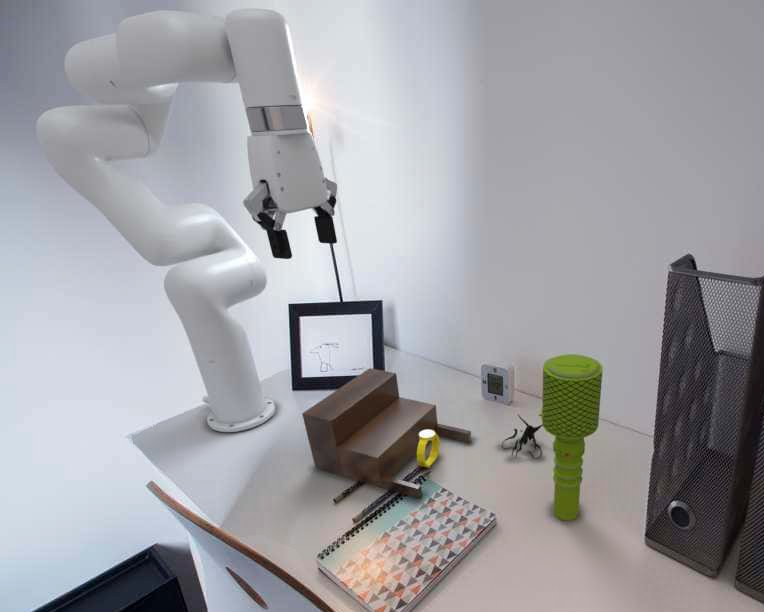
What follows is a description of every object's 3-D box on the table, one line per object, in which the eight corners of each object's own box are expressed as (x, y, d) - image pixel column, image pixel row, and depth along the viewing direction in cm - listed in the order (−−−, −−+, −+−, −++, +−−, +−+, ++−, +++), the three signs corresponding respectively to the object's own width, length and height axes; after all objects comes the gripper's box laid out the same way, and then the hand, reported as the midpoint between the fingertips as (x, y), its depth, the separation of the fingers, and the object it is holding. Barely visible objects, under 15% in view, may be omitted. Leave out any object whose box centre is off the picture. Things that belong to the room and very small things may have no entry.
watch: (429, 474, 89) (425, 444, 86) (414, 471, 90) (410, 442, 87) (444, 454, 94) (441, 426, 91) (430, 451, 94) (426, 423, 92)
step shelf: (315, 468, 91) (301, 413, 86) (377, 417, 105) (369, 368, 100) (419, 499, 83) (411, 441, 78) (471, 440, 97) (468, 387, 92)
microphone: (589, 496, 83) (599, 349, 70) (593, 530, 76) (606, 375, 64) (537, 495, 83) (539, 349, 71) (537, 529, 77) (539, 375, 64)
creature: (534, 470, 91) (554, 439, 96) (531, 448, 87) (552, 418, 92) (495, 457, 94) (516, 428, 99) (491, 436, 91) (513, 407, 96)
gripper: (302, 121, 80) (326, 236, 88) (204, 126, 66) (243, 263, 75) (341, 119, 77) (362, 239, 85) (248, 124, 63) (283, 266, 72)
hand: (306, 250), depth 80 cm, fingers open, 9 cm apart
